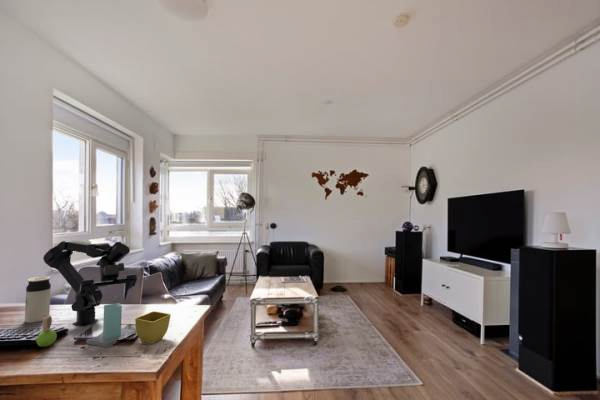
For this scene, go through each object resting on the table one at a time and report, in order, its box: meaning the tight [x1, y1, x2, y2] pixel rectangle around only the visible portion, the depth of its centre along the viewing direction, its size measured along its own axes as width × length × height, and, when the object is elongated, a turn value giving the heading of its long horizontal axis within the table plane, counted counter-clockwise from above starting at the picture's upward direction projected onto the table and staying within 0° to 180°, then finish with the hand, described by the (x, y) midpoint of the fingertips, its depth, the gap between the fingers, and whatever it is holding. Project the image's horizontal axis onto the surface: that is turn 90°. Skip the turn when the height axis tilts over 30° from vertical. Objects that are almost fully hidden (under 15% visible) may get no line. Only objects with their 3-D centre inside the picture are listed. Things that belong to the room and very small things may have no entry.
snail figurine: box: [35, 315, 58, 348], centre depth 101 cm, size 5×6×12 cm
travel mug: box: [24, 276, 52, 324], centre depth 125 cm, size 8×8×18 cm
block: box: [102, 302, 123, 339], centre depth 108 cm, size 5×5×11 cm
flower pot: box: [134, 310, 171, 345], centre depth 107 cm, size 9×9×9 cm
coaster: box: [85, 327, 136, 348], centre depth 108 cm, size 10×12×1 cm
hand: (111, 302), depth 110 cm, fingers open, 9 cm apart
